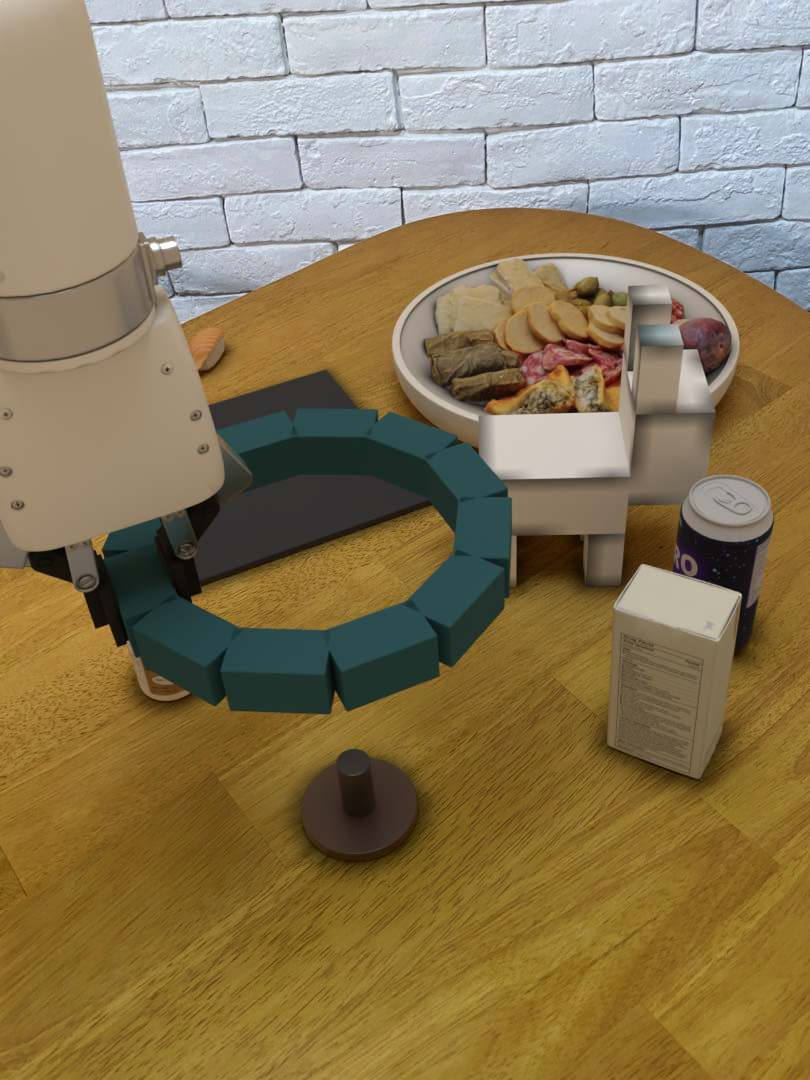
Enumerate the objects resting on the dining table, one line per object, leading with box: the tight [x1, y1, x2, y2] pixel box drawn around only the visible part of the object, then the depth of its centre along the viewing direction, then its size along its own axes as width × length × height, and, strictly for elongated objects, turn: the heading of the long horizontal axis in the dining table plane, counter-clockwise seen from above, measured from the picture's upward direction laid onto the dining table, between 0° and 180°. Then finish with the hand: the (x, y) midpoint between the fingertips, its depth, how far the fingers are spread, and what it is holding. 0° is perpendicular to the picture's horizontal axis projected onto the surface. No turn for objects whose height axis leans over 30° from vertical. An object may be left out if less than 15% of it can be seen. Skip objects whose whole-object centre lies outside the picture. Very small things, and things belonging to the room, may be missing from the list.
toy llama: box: [478, 285, 717, 589], centre depth 78 cm, size 8×18×20 cm, turn 88°
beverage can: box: [671, 474, 775, 653], centre depth 73 cm, size 6×6×12 cm
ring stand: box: [300, 748, 419, 862], centre depth 67 cm, size 7×7×5 cm
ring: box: [101, 408, 512, 715], centre depth 59 cm, size 21×21×3 cm
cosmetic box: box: [606, 563, 742, 780], centre depth 67 cm, size 6×4×12 cm
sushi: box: [188, 326, 226, 372], centre depth 107 cm, size 3×6×3 cm, turn 167°
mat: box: [194, 369, 432, 587], centre depth 94 cm, size 22×22×1 cm
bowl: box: [391, 252, 741, 449], centre depth 99 cm, size 30×30×8 cm
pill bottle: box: [126, 641, 190, 702], centre depth 75 cm, size 4×4×8 cm
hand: (149, 614), depth 57 cm, fingers closed on ring, 2 cm apart
